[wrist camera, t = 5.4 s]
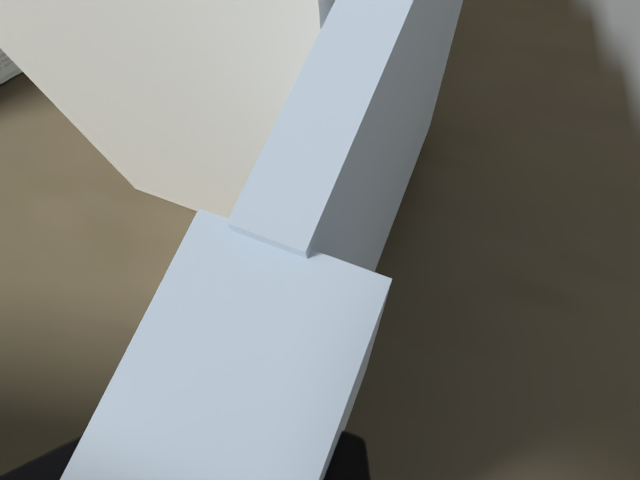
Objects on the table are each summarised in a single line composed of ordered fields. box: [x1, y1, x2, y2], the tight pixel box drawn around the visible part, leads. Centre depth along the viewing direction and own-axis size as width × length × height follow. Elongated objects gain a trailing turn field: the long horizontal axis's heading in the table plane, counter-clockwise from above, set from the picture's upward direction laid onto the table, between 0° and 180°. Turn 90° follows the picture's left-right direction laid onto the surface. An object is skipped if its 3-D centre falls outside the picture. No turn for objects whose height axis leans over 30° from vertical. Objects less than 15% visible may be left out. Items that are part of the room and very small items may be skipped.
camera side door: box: [60, 0, 463, 480], centre depth 10 cm, size 14×2×11 cm, turn 158°
